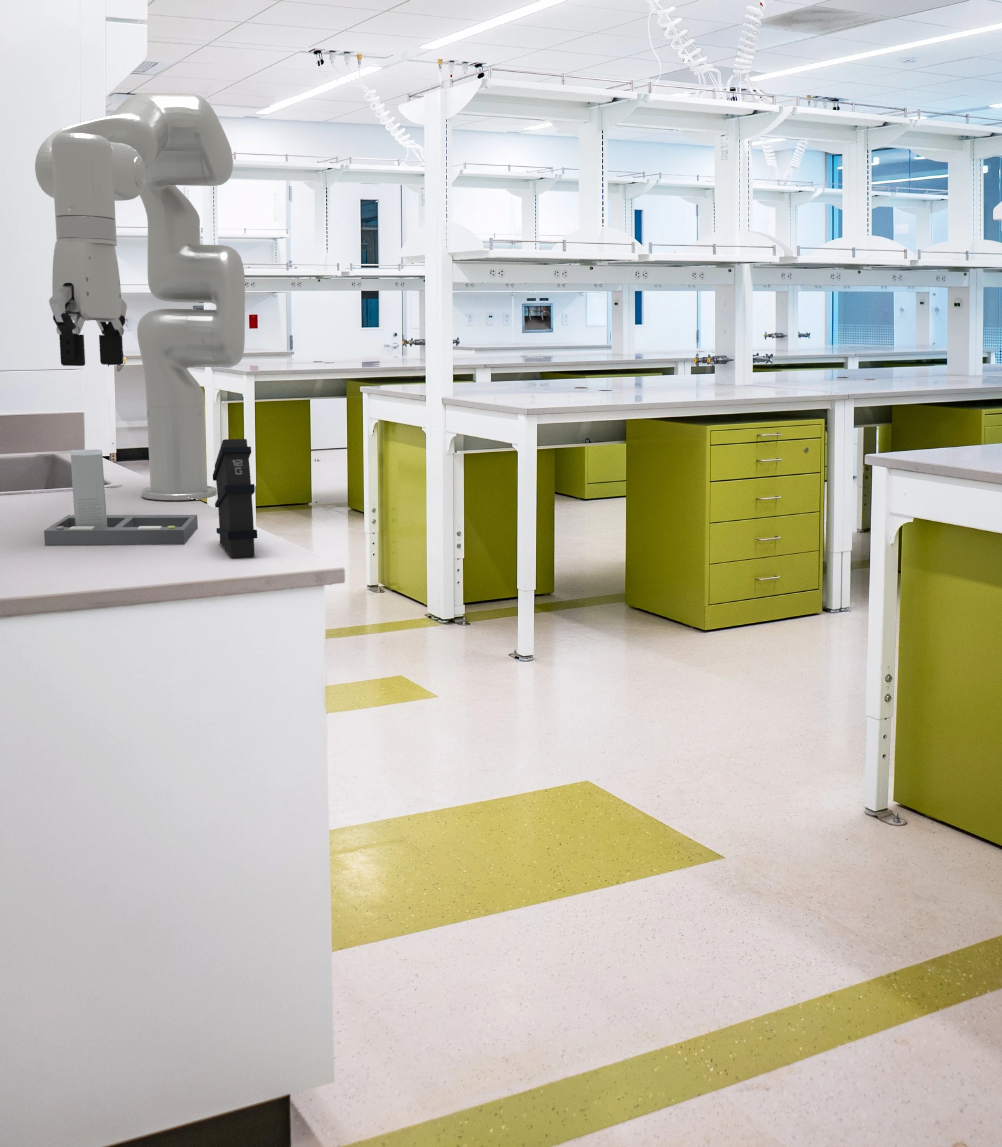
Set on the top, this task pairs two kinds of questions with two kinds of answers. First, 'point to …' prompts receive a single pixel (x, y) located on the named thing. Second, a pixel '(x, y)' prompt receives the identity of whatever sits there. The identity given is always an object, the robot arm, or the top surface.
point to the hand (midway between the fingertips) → (93, 365)
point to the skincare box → (88, 488)
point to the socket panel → (124, 530)
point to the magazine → (235, 498)
